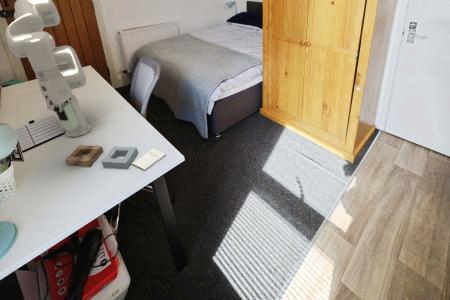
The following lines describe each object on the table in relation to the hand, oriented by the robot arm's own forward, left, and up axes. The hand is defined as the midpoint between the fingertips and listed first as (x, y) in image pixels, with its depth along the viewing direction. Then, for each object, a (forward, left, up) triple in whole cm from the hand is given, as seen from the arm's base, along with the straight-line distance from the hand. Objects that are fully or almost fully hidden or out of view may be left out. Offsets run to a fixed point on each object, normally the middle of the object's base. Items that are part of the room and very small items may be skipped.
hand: (67, 116), depth 112 cm
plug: (0, 0, -5) cm, 5 cm away
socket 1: (0, 0, -21) cm, 21 cm away
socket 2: (+17, 0, -21) cm, 27 cm away
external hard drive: (+30, +1, -22) cm, 37 cm away
